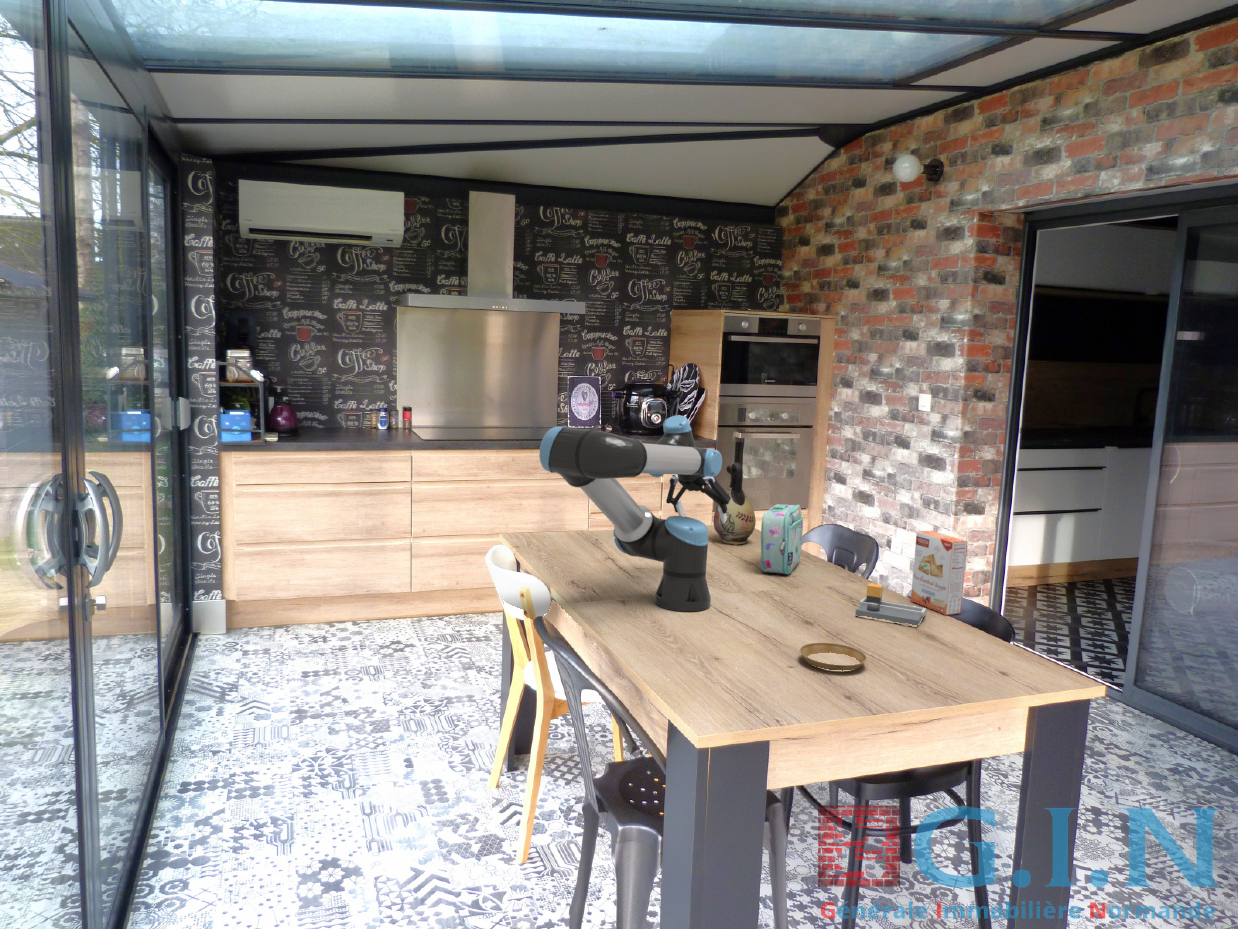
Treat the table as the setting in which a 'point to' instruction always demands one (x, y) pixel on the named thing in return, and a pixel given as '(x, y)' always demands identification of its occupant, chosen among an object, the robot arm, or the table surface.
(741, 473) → the ceramic jug
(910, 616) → the console
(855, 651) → the plant saucer
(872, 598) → the fader tab
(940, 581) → the cracker box
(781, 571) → the lunch box
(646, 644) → the table surface
